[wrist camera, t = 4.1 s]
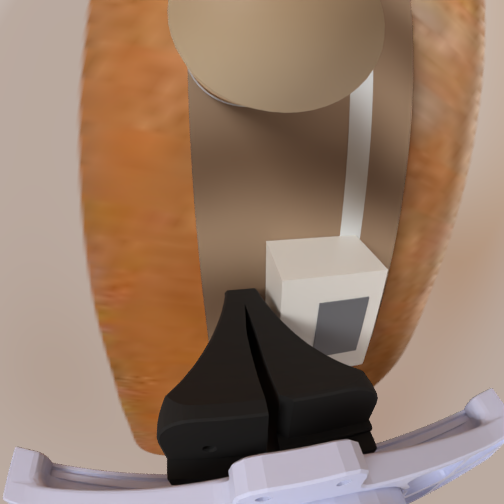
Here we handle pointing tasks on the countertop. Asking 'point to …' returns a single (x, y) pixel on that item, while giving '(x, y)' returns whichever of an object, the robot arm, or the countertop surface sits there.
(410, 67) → the board
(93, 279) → the countertop surface
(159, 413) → the robot arm
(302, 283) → the block
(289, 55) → the tan rounded cylinder
